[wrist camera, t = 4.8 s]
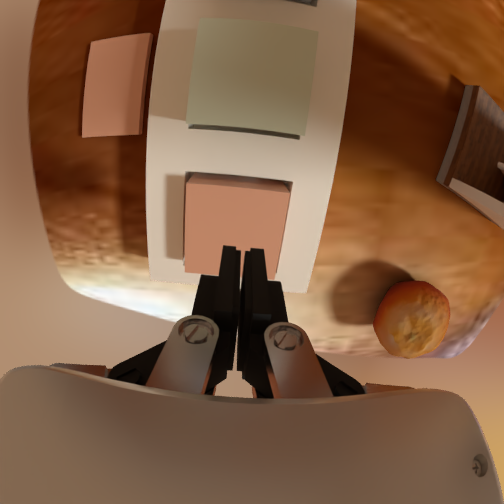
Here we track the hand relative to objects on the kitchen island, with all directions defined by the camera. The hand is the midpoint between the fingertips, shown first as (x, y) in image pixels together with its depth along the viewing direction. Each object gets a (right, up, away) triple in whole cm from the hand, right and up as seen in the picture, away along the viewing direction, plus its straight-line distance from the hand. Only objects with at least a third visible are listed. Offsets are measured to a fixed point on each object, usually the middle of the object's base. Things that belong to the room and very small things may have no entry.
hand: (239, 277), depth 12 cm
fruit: (+16, -4, +15) cm, 22 cm away
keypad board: (0, +13, +5) cm, 14 cm away
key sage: (0, +11, +3) cm, 12 cm away
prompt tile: (-10, +13, +4) cm, 17 cm away
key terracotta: (-1, +4, +8) cm, 9 cm away
